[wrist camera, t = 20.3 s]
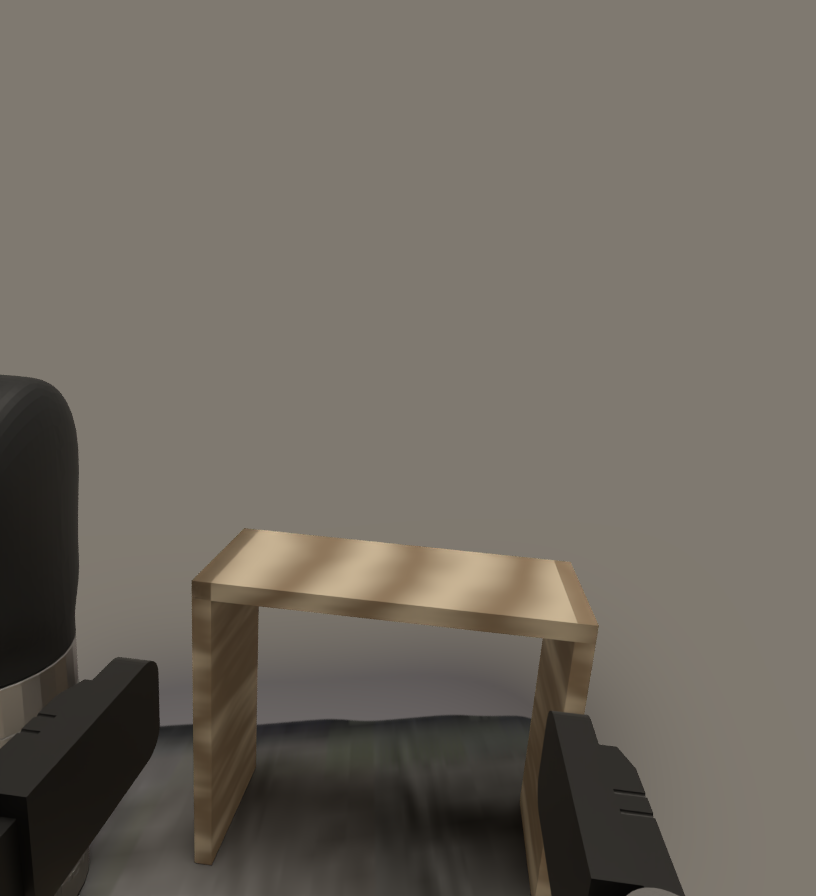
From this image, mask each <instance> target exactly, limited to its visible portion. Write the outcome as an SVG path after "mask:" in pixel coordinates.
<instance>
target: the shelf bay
mask: <svg viewBox="0 0 816 896" xmlns="http://www.w3.org/2000/svg"><path fill="white" fill-rule="evenodd" d="M259 606H262V607H270V608H279V609H288V610H297V611H305V612H314V613H323V614H333V615H341V616H350V617H359V618H369V619H377V620H385V621H394V622H404V623H412V624H421V625H430V626H439V627H447V628H457V629H465V630H474V631H483V632H492V633H501V634H509V635H519V636H527V637H536V638H543V641H542V649H541V655H540V662H539V669H538V677H537V683H536V691H535V698H534V705H533V712H532V719H531V726H530V733H529V740H528V747H527V754H526V761H525V768H524V776H523V783H522V790H521V797H520V808H521V816H522V825H523V833H524V841H525V849H526V858H527V866H528V874H529V882H530V891H531V896H551V890H550V883H549V877H548V871H547V864H546V858H545V851H544V845H543V839H542V832H541V826H540V819H539V813H538V798H537V791H538V775H539V768H540V762H541V755H542V748H543V741H544V735H545V728H546V721H547V716H548V713H549V711H550V710H551V711H559V712H567V713H575V714H584V712H585V706H586V700H587V694H588V688H589V682H590V676H591V670H592V664H593V657H594V651H595V645H596V639H597V633H598V627H599V625H598V623H597V621H596V618H595V616H594V614H593V612H592V609H591V607H590V605H589V603H588V601H587V598H586V596H585V594H584V592H583V589H582V587H581V585H580V582H579V580H578V578H577V576H576V574H575V571H574V569H573V567H572V564H571V562H565V561H555V560H545V559H536V558H525V557H516V556H507V555H497V554H487V553H478V552H468V551H458V550H449V549H438V548H429V547H420V546H410V545H401V544H390V543H381V542H371V541H361V540H352V539H342V538H332V537H324V536H323V537H322V536H314V535H313V536H312V535H304V534H294V533H285V532H275V531H266V530H255V529H246V528H244V529H243V530H242V531H241V532H240V533H239V534H238V535H237V536H236V537H235V538H234V539H233V540H232V541H231V542H230V543H229V544H228V545H227V546H226V547H225V548H224V549H223V550H222V551H221V552H220V553H219V554H218V555H217V556H216V557H215V558H214V559H213V560H212V561H211V562H210V563H209V564H208V565H207V566H206V567H205V568H204V569H203V570H202V571H201V572H200V573H199V574H198V575H197V576H196V577H195V578H194V579H193V580H192V653H193V654H192V656H193V657H192V660H193V753H194V846H195V863H200V864H207V865H212V863H213V861H214V859H215V856H216V854H217V852H218V850H219V848H220V845H221V843H222V841H223V839H224V836H225V834H226V832H227V830H228V828H229V825H230V823H231V821H232V819H233V817H234V814H235V812H236V810H237V808H238V805H239V803H240V801H241V799H242V797H243V794H244V792H245V790H246V788H247V786H248V783H249V781H250V779H251V777H252V774H253V772H254V770H255V768H256V724H257V723H256V722H257V721H256V720H257V667H258V661H257V660H258V612H259Z"/></svg>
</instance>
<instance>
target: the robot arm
mask: <svg viewBox="0 0 816 896" xmlns="http://www.w3.org/2000/svg"><path fill="white" fill-rule="evenodd" d="M78 478H79V465H78V443H77V435H76V428H75V424H74V420H73V416H72V413H71V411H70V409H69V406H68V404H67V402H66V400H65V399H64V397H63V396H62V395H61V393H60V392H59V391H58V390H57V389H56V388H55V387H54V386H52V385H51V384H49V383H47V382H45V381H43V380H40V379H35V378H30V377H20V376H9V375H0V896H77V895H78V893H79V891H80V889H81V887H82V886H83V884H84V882H85V879H86V876H87V872H88V869H89V845H90V844H91V842H92V841H93V840H94V838H95V837H96V835H97V834H98V832H99V831H100V829H101V828H102V827H103V825H104V824H105V822H106V821H107V819H108V818H109V817H110V815H111V814H112V812H113V811H114V809H115V808H116V807H117V805H118V804H119V802H120V801H121V799H122V798H123V797H124V795H125V794H126V792H127V791H128V789H129V788H130V787H131V785H132V784H133V782H134V781H135V779H136V778H137V777H138V775H139V774H140V772H141V771H142V769H143V768H144V767H145V765H146V764H147V762H148V761H149V759H150V757H151V756H152V754H153V751H154V749H155V746H156V743H157V739H158V735H159V728H160V718H159V681H158V680H159V679H158V667H157V664H156V663H155V662H154V661H147V660H139V659H131V658H122V657H117V658H115V659H113V660H112V661H111V662H110V663H109V664H108V665H107V666H106V667H105V668H104V669H103V670H102V671H101V672H100V673H99V674H98V675H97V676H96V677H95V678H94V679H93V680H83V681H81V682H79V679H78V665H77V649H76V628H75V604H76V595H77V586H78V575H79V553H78V481H79V479H78ZM537 798H538V813H539V819H540V826H541V832H542V839H543V845H544V851H545V858H546V864H547V871H548V877H549V883H550V890H551V896H685V895H684V892H683V889H682V887H681V884H680V882H679V879H678V877H677V874H676V871H675V869H674V866H673V863H672V861H671V858H670V856H669V853H668V851H667V848H666V846H665V843H664V840H663V838H662V835H661V832H660V830H659V827H658V825H657V822H656V820H655V818H653V812H652V809H651V807H650V804H649V801H648V799H647V798H646V797H645V791H644V788H643V786H642V783H641V781H640V778H639V776H638V773H637V770H636V768H635V767H634V766H633V765H632V764H631V763H630V762H629V760H628V759H627V758H626V757H625V756H624V755H623V753H622V752H621V751H620V750H619V749H618V748H617V747H613V746H605V745H599V744H598V741H597V738H596V734H595V731H594V728H593V725H592V722H591V719H590V717H589V716H588V715H584V714H575V713H567V712H559V711H551V710H550V711H549V713H548V716H547V721H546V728H545V735H544V741H543V748H542V755H541V762H540V768H539V775H538V791H537Z"/></svg>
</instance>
